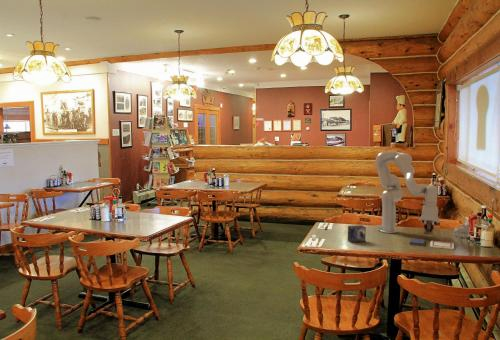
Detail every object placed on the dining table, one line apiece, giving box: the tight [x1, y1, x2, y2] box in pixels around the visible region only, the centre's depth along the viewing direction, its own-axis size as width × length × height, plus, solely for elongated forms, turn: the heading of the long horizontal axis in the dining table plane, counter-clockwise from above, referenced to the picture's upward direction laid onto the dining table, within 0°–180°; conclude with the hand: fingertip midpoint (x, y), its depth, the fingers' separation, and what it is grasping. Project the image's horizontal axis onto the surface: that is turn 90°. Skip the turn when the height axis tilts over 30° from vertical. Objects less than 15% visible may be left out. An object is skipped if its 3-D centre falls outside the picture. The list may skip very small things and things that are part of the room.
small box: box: [347, 224, 367, 244], centre depth 287 cm, size 11×6×10 cm, turn 101°
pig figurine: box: [454, 221, 470, 239], centre depth 299 cm, size 5×13×11 cm, turn 97°
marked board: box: [429, 240, 455, 250], centre depth 277 cm, size 14×14×1 cm
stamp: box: [422, 220, 434, 237], centre depth 291 cm, size 6×6×12 cm
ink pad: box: [409, 238, 426, 247], centre depth 283 cm, size 9×12×2 cm
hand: (428, 229), depth 291 cm, fingers closed on stamp, 3 cm apart
